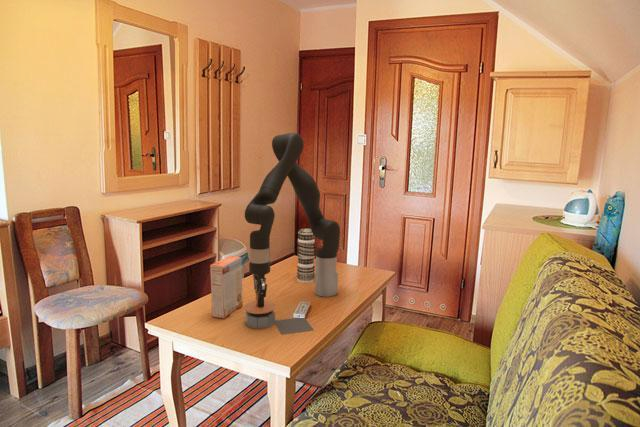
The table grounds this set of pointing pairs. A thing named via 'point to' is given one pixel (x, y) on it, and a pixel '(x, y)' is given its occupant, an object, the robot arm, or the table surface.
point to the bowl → (260, 320)
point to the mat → (293, 325)
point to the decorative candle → (305, 256)
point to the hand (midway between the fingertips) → (259, 304)
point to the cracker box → (226, 286)
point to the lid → (253, 307)
